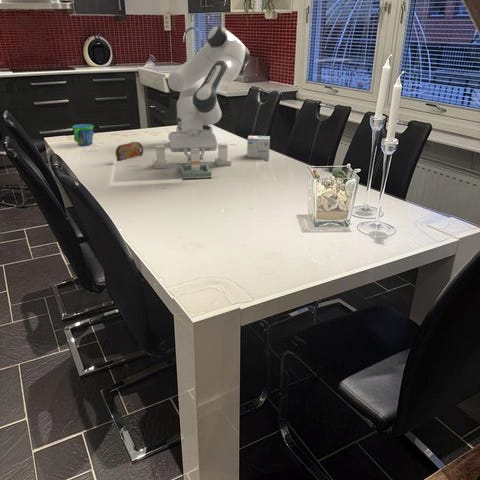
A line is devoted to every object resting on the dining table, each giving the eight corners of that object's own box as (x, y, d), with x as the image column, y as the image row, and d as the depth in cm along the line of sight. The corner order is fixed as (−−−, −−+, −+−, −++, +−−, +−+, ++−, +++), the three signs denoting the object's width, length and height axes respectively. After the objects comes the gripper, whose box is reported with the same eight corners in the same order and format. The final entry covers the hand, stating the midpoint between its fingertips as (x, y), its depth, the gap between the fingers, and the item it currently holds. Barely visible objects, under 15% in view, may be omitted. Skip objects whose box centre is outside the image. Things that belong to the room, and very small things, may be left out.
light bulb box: (269, 157, 231) (270, 135, 226) (268, 161, 224) (269, 138, 220) (247, 156, 231) (248, 135, 227) (246, 160, 225) (247, 137, 221)
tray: (180, 172, 205) (180, 165, 203) (207, 171, 207) (207, 164, 206) (182, 180, 194) (182, 173, 193) (211, 178, 196) (211, 172, 195)
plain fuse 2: (218, 162, 214) (218, 143, 211) (226, 162, 215) (226, 143, 211) (219, 164, 211) (219, 145, 208) (227, 164, 212) (227, 144, 208)
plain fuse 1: (157, 165, 209) (155, 145, 205) (165, 164, 210) (164, 145, 206) (157, 167, 206) (156, 147, 202) (165, 167, 207) (164, 146, 203)
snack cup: (84, 148, 242) (81, 129, 238) (67, 147, 245) (64, 127, 241) (102, 142, 255) (100, 124, 251) (86, 141, 259) (83, 122, 254)
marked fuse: (190, 168, 201) (190, 148, 197) (199, 168, 201) (198, 147, 198) (191, 171, 197) (190, 150, 194) (200, 170, 198) (199, 149, 194)
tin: (119, 164, 216) (118, 146, 212) (115, 163, 217) (113, 145, 214) (144, 158, 227) (142, 140, 223) (139, 157, 228) (138, 139, 225)
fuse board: (153, 167, 212) (153, 159, 210) (228, 163, 218) (228, 156, 217) (154, 172, 204) (153, 164, 202) (231, 169, 210) (231, 161, 209)
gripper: (168, 127, 197) (170, 156, 192) (215, 126, 201) (219, 154, 196) (167, 136, 203) (170, 163, 198) (214, 134, 206) (217, 162, 202)
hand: (195, 159), depth 197 cm, fingers closed on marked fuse, 4 cm apart
